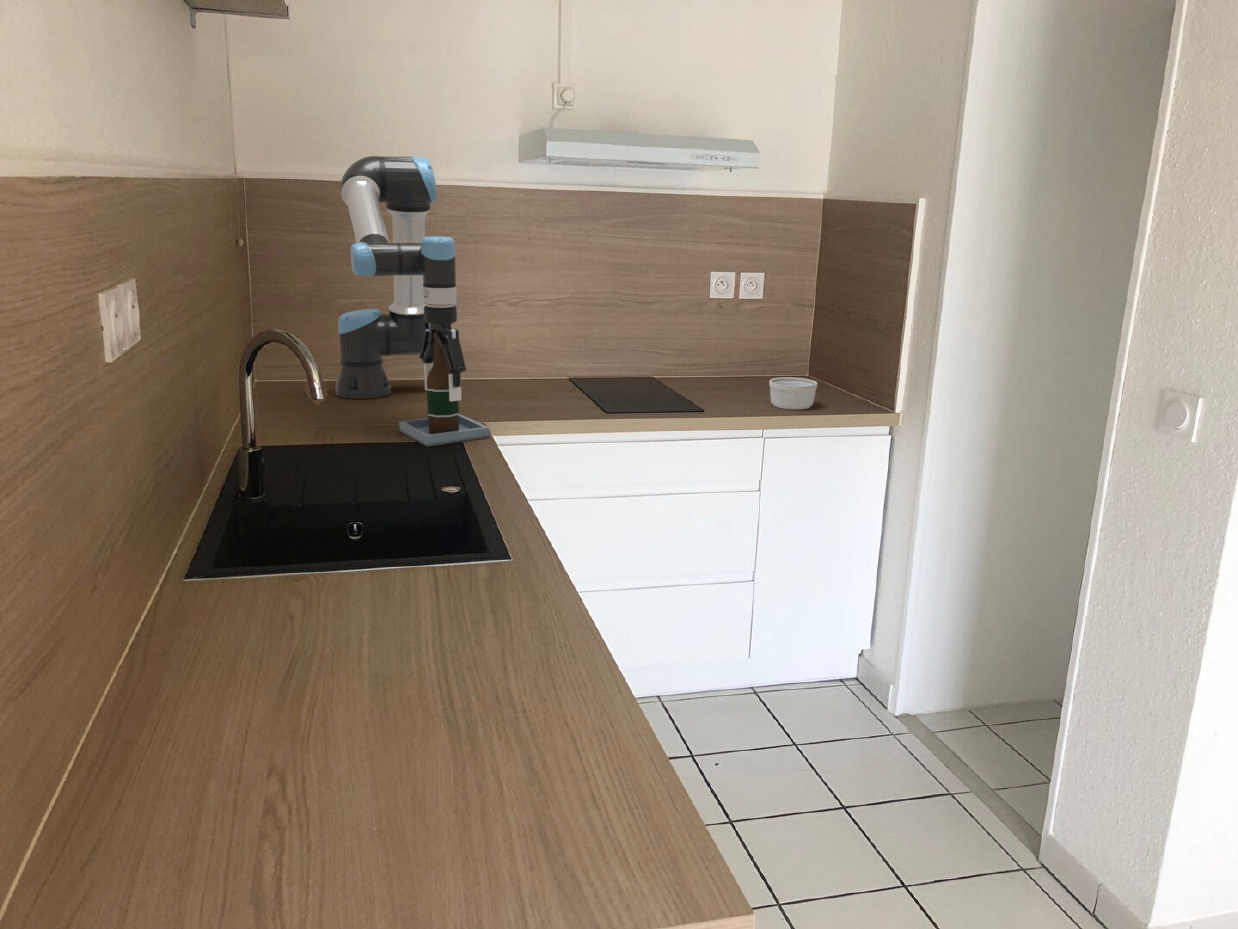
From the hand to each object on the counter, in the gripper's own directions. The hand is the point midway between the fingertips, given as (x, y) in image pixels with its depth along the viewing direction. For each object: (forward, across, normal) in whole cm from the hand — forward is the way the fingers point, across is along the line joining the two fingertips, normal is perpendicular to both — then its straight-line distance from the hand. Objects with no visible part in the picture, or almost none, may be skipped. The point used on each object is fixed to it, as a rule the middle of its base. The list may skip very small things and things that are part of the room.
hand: (442, 395), depth 232 cm
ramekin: (+10, +19, +97) cm, 99 cm away
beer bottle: (+9, 0, 0) cm, 9 cm away
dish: (+10, 0, 0) cm, 10 cm away
